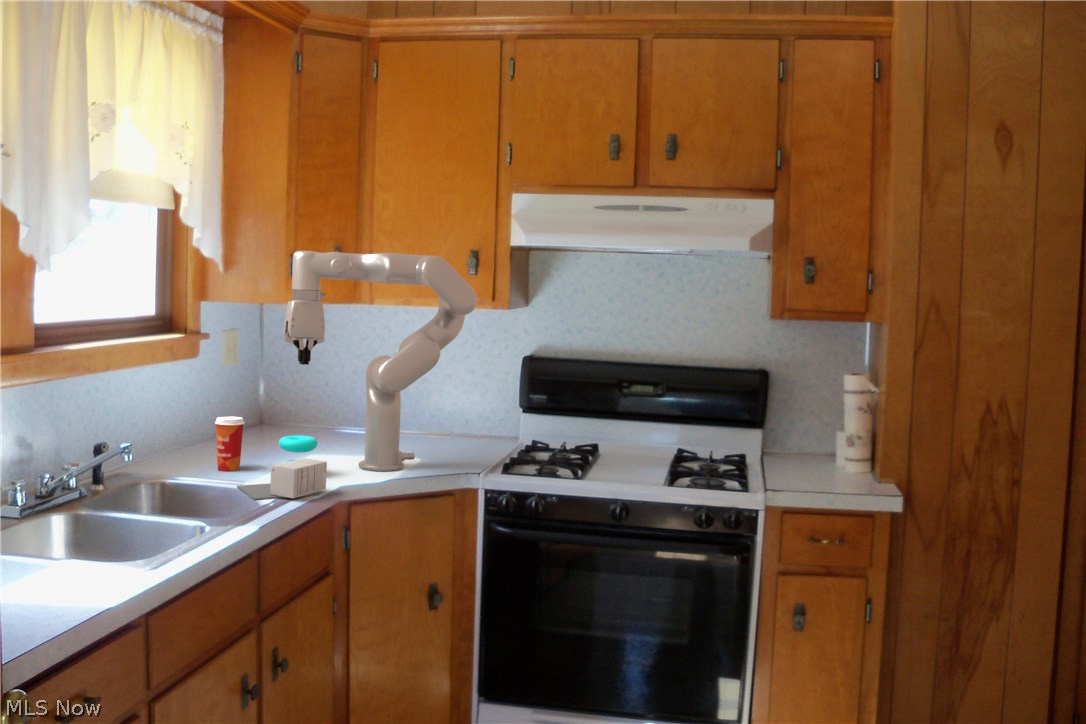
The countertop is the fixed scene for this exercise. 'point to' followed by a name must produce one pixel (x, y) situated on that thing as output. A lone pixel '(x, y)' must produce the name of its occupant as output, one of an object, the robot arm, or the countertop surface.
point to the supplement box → (298, 478)
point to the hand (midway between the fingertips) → (304, 364)
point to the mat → (261, 491)
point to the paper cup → (229, 442)
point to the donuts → (297, 444)
